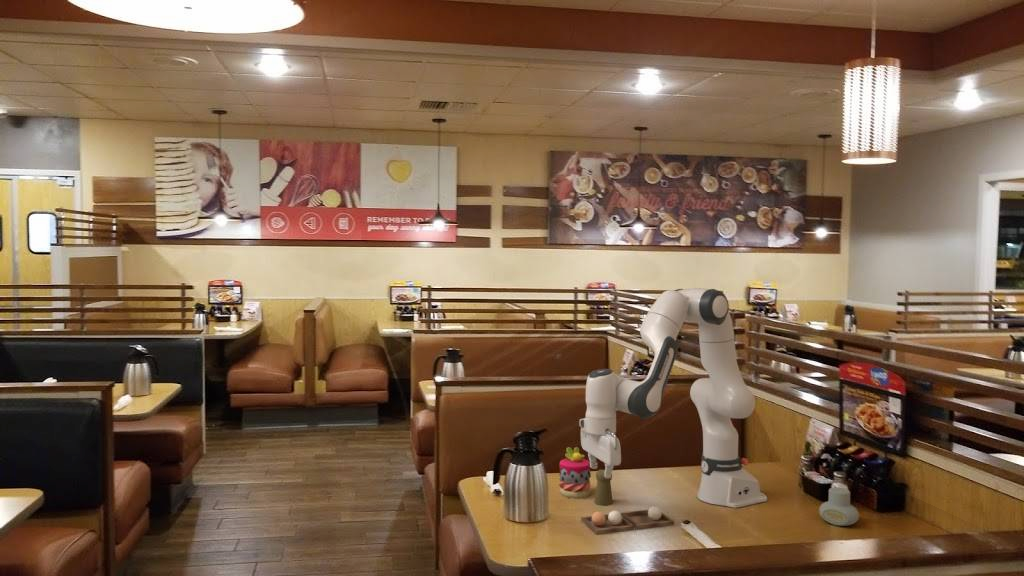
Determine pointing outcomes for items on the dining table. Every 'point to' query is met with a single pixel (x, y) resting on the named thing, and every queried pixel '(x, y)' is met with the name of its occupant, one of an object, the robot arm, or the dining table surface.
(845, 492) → the air freshener
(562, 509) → the dining table surface
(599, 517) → the ball terracotta
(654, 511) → the cream ball
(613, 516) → the cream ball
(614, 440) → the robot arm
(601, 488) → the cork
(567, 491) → the cake
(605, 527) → the tray
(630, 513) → the tray
